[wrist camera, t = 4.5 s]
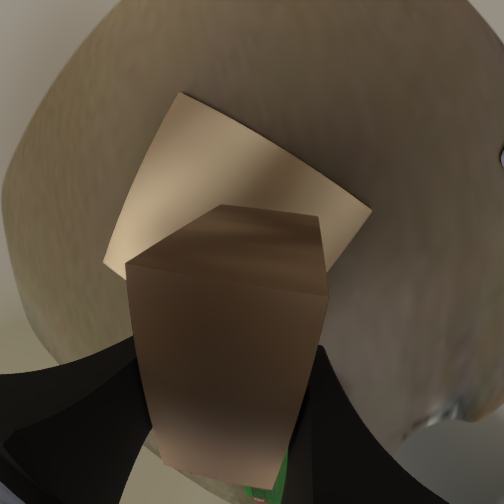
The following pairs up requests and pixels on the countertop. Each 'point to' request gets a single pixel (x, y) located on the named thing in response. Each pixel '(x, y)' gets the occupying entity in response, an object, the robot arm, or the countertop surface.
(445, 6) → the countertop surface
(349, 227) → the plate
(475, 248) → the countertop surface
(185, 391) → the slab
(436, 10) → the countertop surface
